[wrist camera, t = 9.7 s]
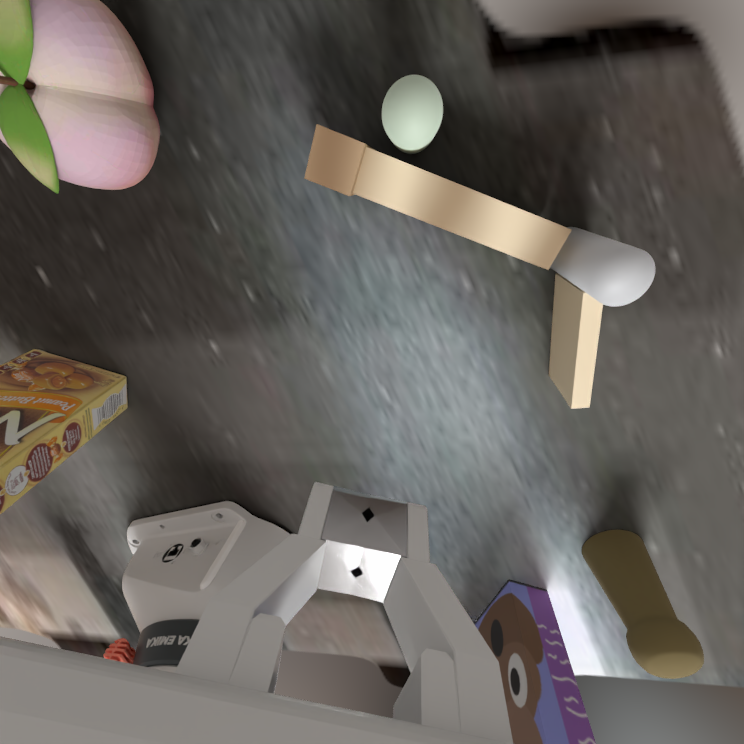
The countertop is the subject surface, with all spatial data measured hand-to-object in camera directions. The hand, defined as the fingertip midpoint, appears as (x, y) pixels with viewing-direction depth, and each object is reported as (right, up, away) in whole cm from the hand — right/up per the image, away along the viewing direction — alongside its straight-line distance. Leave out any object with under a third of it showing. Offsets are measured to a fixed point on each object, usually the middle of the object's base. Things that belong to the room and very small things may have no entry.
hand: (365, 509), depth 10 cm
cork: (+26, -15, +30) cm, 42 cm away
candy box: (-27, +3, +26) cm, 38 cm away
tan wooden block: (+4, +15, +15) cm, 22 cm away
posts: (+9, +12, +17) cm, 22 cm away
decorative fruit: (-16, +21, +15) cm, 30 cm away
